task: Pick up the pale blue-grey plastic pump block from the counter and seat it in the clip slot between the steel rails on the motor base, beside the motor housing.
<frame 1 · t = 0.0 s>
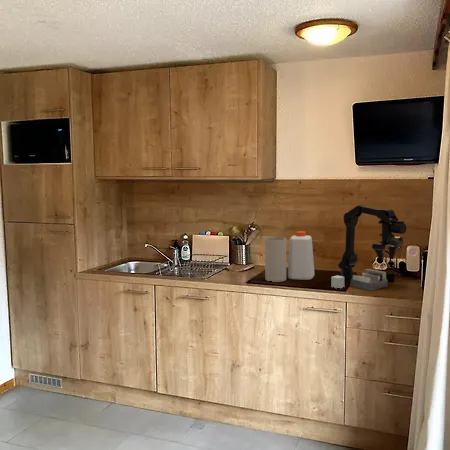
hand: (386, 260, 276), 15 cm above the worktop, fingers open, 9 cm apart
pump block: (337, 287, 279), on the worktop
plastic bottle: (301, 277, 305), on the worktop
motor base: (368, 286, 279), on the worktop
cylinder vase: (275, 280, 300), on the worktop
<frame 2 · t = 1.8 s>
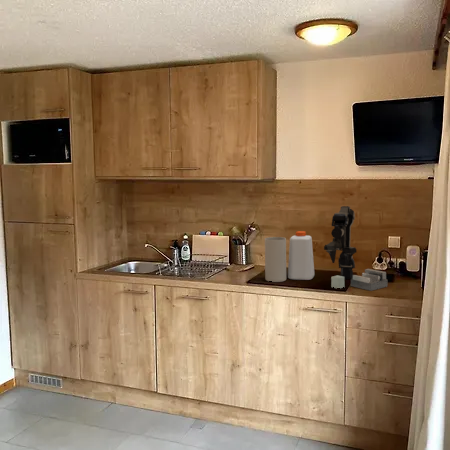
hand: (339, 264, 277), 13 cm above the worktop, fingers open, 9 cm apart
nothing on the worktop moved.
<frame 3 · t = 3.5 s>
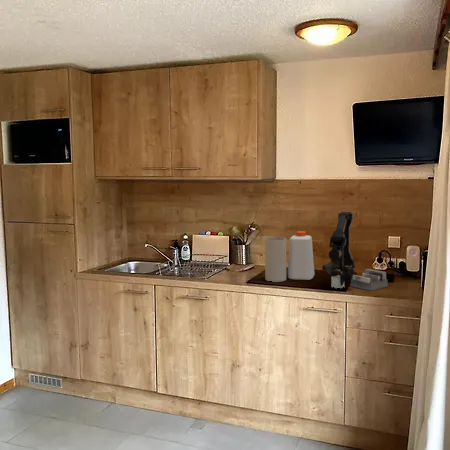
hand: (337, 284, 278), 2 cm above the worktop, fingers closed on pump block, 5 cm apart
pump block: (337, 287, 279), on the worktop, touching gripper
everything else where it was.
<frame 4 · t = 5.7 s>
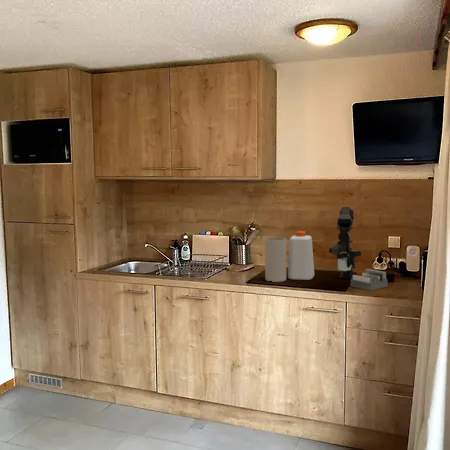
hand: (344, 267, 277), 11 cm above the worktop, fingers closed on pump block, 5 cm apart
pump block: (344, 269, 277), point 10 cm above the worktop, touching gripper
everything else where it was.
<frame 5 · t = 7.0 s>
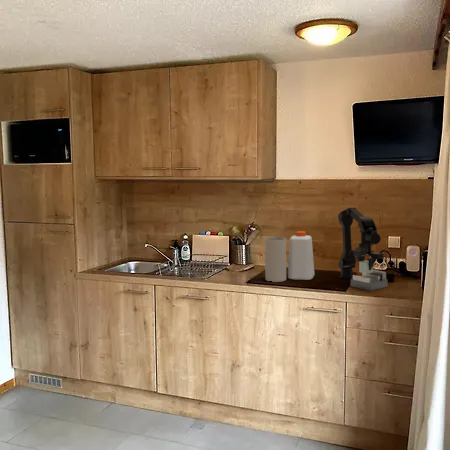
hand: (366, 269, 276), 10 cm above the worktop, fingers closed on pump block, 5 cm apart
pump block: (365, 272, 276), point 8 cm above the worktop, touching gripper
everything else where it was.
when the fingers open (6 cm above the worktop, at t = 8.1 s): pump block stays where it is, resting on motor base.
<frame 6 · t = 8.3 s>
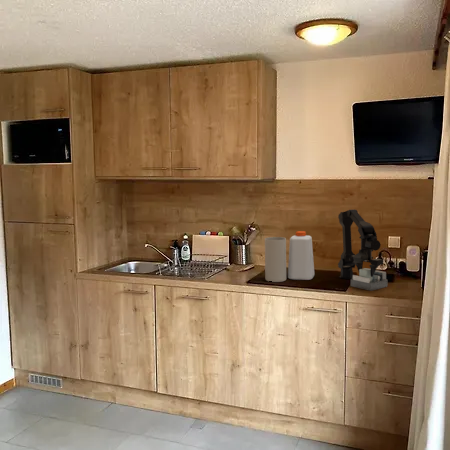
hand: (366, 275, 276), 6 cm above the worktop, fingers open, 7 cm apart
pump block: (365, 280, 277), point 4 cm above the worktop, touching motor base
everything else where it was.
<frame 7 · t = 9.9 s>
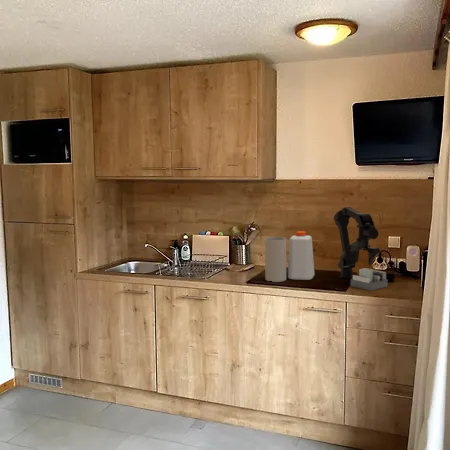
hand: (363, 263, 281), 12 cm above the worktop, fingers open, 9 cm apart
nothing on the worktop moved.
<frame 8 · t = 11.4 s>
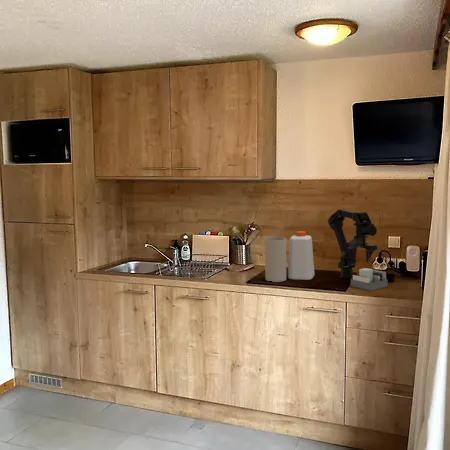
hand: (360, 260, 287), 13 cm above the worktop, fingers open, 9 cm apart
nothing on the worktop moved.
at the end: pump block 0.1 cm from the target spot on the motor base, point 4.0 cm above the motor base's base; pump block tilted 0°; the gripper is holding nothing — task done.
